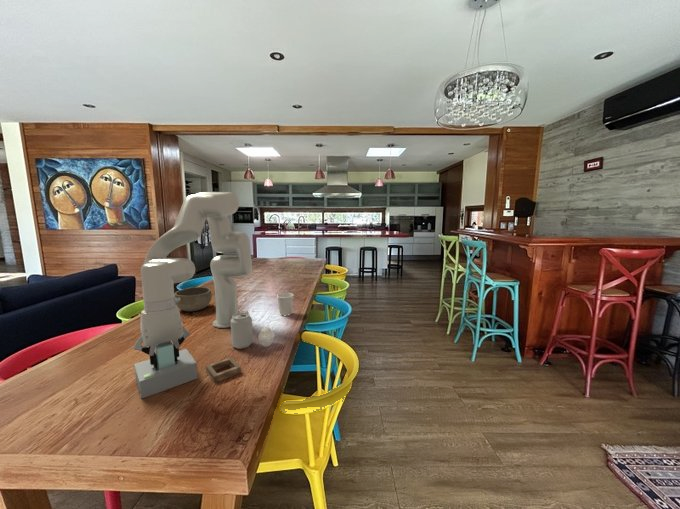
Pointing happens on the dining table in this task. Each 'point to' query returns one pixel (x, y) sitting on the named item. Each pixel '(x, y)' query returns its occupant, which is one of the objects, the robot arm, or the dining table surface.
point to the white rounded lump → (266, 337)
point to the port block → (165, 374)
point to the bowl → (193, 298)
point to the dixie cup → (285, 303)
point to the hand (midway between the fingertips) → (165, 362)
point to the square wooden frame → (224, 374)
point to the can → (241, 330)
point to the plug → (164, 355)
